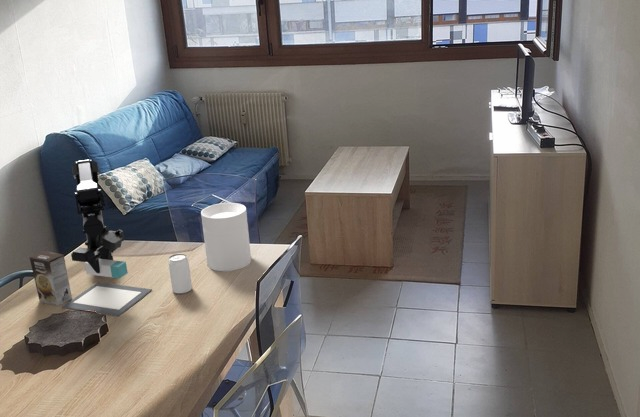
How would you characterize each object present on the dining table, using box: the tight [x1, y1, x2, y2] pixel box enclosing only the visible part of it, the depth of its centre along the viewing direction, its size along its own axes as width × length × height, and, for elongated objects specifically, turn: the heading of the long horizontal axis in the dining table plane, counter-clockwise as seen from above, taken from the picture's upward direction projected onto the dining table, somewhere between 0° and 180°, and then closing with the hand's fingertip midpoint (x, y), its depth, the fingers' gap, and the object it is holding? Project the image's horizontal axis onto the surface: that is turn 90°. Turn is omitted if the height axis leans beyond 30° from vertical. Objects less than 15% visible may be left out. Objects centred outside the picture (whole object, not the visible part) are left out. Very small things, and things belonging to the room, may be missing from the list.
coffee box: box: [29, 250, 73, 307], centre depth 208 cm, size 9×6×16 cm
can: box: [168, 253, 193, 295], centre depth 211 cm, size 6×6×12 cm
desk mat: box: [61, 281, 153, 317], centre depth 209 cm, size 22×18×1 cm
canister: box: [200, 202, 252, 272], centre depth 229 cm, size 16×16×20 cm
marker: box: [84, 259, 128, 279], centre depth 205 cm, size 13×4×4 cm, turn 70°
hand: (102, 270), depth 206 cm, fingers closed on marker, 4 cm apart
